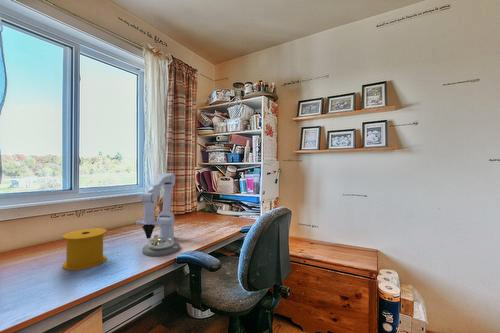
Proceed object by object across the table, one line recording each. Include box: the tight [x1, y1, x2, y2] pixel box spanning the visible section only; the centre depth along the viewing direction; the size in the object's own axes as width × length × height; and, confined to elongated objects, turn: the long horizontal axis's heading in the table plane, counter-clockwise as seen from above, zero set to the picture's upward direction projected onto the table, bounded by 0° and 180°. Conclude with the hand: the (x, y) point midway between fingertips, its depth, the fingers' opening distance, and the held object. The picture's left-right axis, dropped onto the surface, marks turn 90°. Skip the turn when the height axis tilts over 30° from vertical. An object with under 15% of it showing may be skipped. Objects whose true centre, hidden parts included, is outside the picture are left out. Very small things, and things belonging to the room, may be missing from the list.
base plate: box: [141, 241, 180, 258], centre depth 134 cm, size 20×20×2 cm
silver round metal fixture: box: [147, 234, 175, 250], centre depth 134 cm, size 14×14×8 cm
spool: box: [61, 227, 108, 271], centre depth 116 cm, size 18×18×15 cm
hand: (148, 238), depth 130 cm, fingers closed
